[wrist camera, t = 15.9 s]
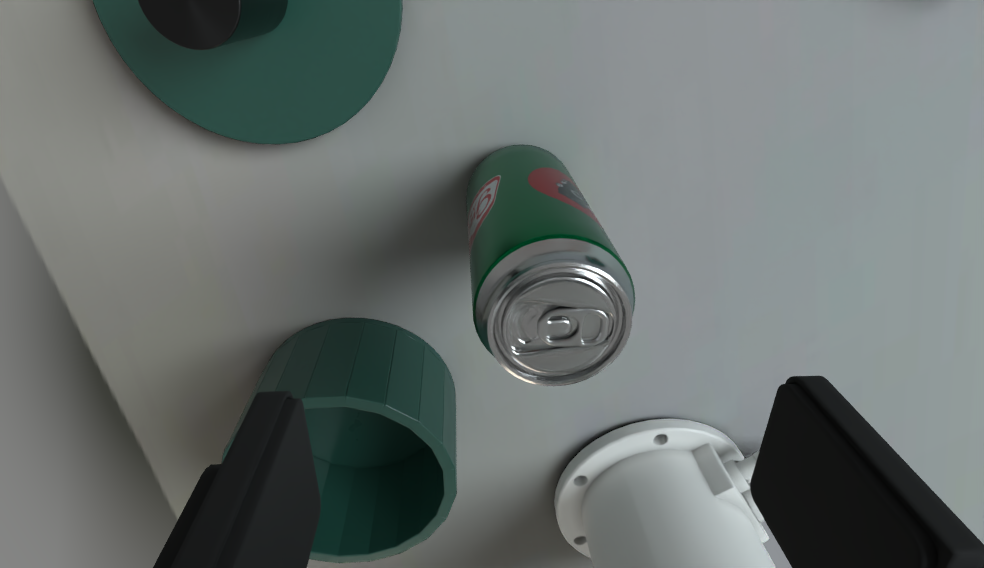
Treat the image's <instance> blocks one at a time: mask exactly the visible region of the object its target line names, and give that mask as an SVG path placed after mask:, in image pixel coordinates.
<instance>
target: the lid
mask: <svg viewBox="0 0 984 568" xmlns="http://www.w3.org/2000/svg"><path fill="white" fill-rule="evenodd" d="M93 3H94V5H95V8H96V11H97V13H98V16H99V18H100V21H101V23H102V25H103V27H104V29H105V30H106V32H107V34H108V36H109V38H110V40H111V42H112V43H113V45H114V47H115V48H116V50H117V51H118V53H119V54H120V56H121V57H122V59H123V60H124V62H125V63H126V64H127V65H128V67H129V68H130V69H131V70H132V72H133V73H134V74H135V75H136V77H137V78H138V79H139V80H140V81H141V82H142V83H143V84H144V85H145V86H146V87H147V88H148V89H149V90H150V91H151V92H152V93H153V94H154V95H155V96H156V97H158V98H159V99H160V100H161V101H162V102H164V103H165V104H166V105H167V106H168V107H170V108H171V109H173V110H174V111H176V112H177V113H179V114H180V115H182V116H183V117H185V118H186V119H188V120H190V121H191V122H193V123H195V124H197V125H199V126H201V127H203V128H205V129H207V130H209V131H212V132H214V133H217V134H219V135H222V136H225V137H229V138H232V139H236V140H240V141H244V142H251V143H258V144H287V143H296V142H301V141H305V140H309V139H313V138H316V137H318V136H321V135H323V134H325V133H328V132H330V131H332V130H334V129H335V128H337V127H339V126H341V125H342V124H344V123H345V122H347V121H348V120H349V119H350V118H352V117H353V116H354V115H356V114H357V113H358V112H359V111H360V110H361V109H362V108H363V107H364V106H365V105H366V104H367V103H368V101H369V100H370V99H371V98H372V96H373V95H374V94H375V92H376V91H377V89H378V88H379V86H380V85H381V84H382V82H383V80H384V78H385V76H386V74H387V72H388V70H389V68H390V66H391V63H392V61H393V58H394V55H395V52H396V49H397V45H398V40H399V36H400V31H401V22H402V10H403V5H402V0H93Z"/></svg>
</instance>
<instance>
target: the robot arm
mask: <svg viewBox="0 0 984 568" xmlns="http://www.w3.org/2000/svg"><path fill="white" fill-rule="evenodd" d="M554 504H555V511H556V517H557V521H558V525H559V528H560V531H561V533H562V534H563V536H564V537H565V539H566V540H567V542H568V543H569V544H570V545H571V546H573V547H574V548H575V549H576V550H577V551H578V552H580V553H582V554H583V555H585V556H587V557H588V558H591V560H592V564H593V568H776V567H775V565H774V563H773V561H772V560H771V558H770V556H769V554H768V552H767V551H766V549H765V547H764V545H763V543H764V542H766V541H768V540H769V537H768V535H767V533H766V532H765V530H764V528H763V526H762V525H761V522H763V521H764V520H765V521H766V523H767V525H768V527H769V528H770V530H771V532H772V533H773V535H774V537H775V539H776V540H777V542H778V544H779V545H780V547H781V549H782V551H783V552H784V554H785V556H786V558H787V559H788V561H789V563H790V564H791V566H792V568H984V544H983V543H982V542H981V541H980V540H979V539H978V538H977V537H976V536H975V535H974V534H973V533H972V532H971V531H970V530H969V529H968V528H967V527H966V525H965V524H964V523H963V522H962V521H961V520H960V519H959V518H958V517H957V516H956V515H955V514H954V513H953V512H952V511H951V510H950V509H949V508H948V507H947V505H946V504H945V503H944V502H943V501H942V500H941V499H940V498H939V497H938V496H937V495H936V494H935V493H934V492H933V491H932V490H931V489H930V488H929V486H928V485H927V484H926V483H925V482H924V481H923V480H922V479H921V478H920V477H919V476H918V475H917V474H916V473H915V472H914V471H913V470H912V469H911V468H910V466H909V465H908V464H907V463H906V462H905V461H904V460H903V459H902V458H901V457H900V456H899V455H898V454H897V453H896V452H895V451H894V450H893V449H892V447H891V446H890V445H889V444H888V443H887V442H886V441H885V440H884V439H883V438H882V437H881V436H880V435H879V434H878V433H877V432H876V431H875V430H874V429H873V427H872V426H871V425H870V424H869V423H868V422H867V421H866V420H865V419H864V418H863V417H862V416H861V415H860V414H859V413H858V412H857V411H856V410H855V408H854V407H853V406H852V405H851V404H850V403H849V402H848V401H847V400H846V399H845V398H844V397H843V396H842V395H841V394H840V393H839V392H838V391H837V390H836V388H835V387H834V386H833V385H832V384H831V383H830V382H829V381H828V380H827V379H825V378H824V377H822V376H794V377H790V378H789V379H788V380H787V381H786V383H785V384H782V385H781V386H779V388H778V390H777V394H776V397H775V400H774V404H773V407H772V410H771V414H770V417H769V421H768V424H767V427H766V431H765V434H764V437H763V441H762V444H761V448H760V450H759V451H757V452H755V453H753V455H752V456H750V457H748V458H746V459H745V458H744V456H743V455H742V453H741V451H740V450H739V449H738V447H737V446H736V445H735V443H734V442H733V441H732V440H731V439H730V438H728V437H727V436H726V435H725V434H724V433H722V432H721V431H719V430H717V429H715V428H713V427H711V426H709V425H706V424H702V423H699V422H695V421H691V420H683V419H672V418H670V419H654V420H647V421H643V422H638V423H633V424H630V425H627V426H624V427H621V428H619V429H616V430H613V431H611V432H609V433H607V434H605V435H603V436H602V437H600V438H598V439H596V440H595V441H593V442H592V443H591V444H589V445H588V446H586V447H585V448H584V449H582V450H581V451H580V452H579V453H578V454H577V455H576V456H575V457H574V458H573V459H572V460H571V462H570V463H569V464H568V465H567V467H566V469H565V470H564V472H563V473H562V475H561V476H560V479H559V482H558V485H557V487H556V491H555V500H554ZM320 511H321V499H320V493H319V487H318V482H317V476H316V471H315V466H314V460H313V455H312V449H311V444H310V439H309V433H308V428H307V422H306V417H305V411H304V406H303V402H302V400H301V399H300V398H293V395H292V393H291V392H290V391H269V392H259V393H257V395H256V396H255V398H254V400H253V402H252V404H251V406H250V408H249V410H248V412H247V414H246V416H245V418H244V420H243V422H242V424H241V426H240V428H239V430H238V432H237V434H236V436H235V438H234V440H233V442H232V444H231V446H230V448H229V450H228V452H227V454H226V456H225V458H224V460H223V463H222V464H219V465H210V466H209V467H207V468H206V469H205V471H204V472H203V474H202V475H201V477H200V479H199V481H198V483H197V485H196V487H195V489H194V491H193V492H192V494H191V496H190V498H189V500H188V502H187V504H186V506H185V508H184V510H183V512H182V513H181V515H180V517H179V519H178V521H177V523H176V525H175V527H174V529H173V531H172V532H171V534H170V536H169V538H168V540H167V542H166V544H165V546H164V548H163V550H162V552H161V553H160V555H159V557H158V559H157V561H156V563H155V565H154V567H153V568H307V564H308V560H309V556H310V552H311V549H312V545H313V541H314V537H315V533H316V529H317V525H318V522H319V517H320Z"/></svg>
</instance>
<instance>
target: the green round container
mask: <svg viewBox="0 0 984 568" xmlns="http://www.w3.org/2000/svg"><path fill="white" fill-rule="evenodd" d="M269 391H290V392H291V393H292V395H293V398H300V399H301V400H302V402H303V406H304V411H305V417H306V422H307V428H308V433H309V439H310V444H311V449H312V455H313V460H314V466H315V471H316V476H317V482H318V487H319V493H320V499H321V511H320V517H319V522H318V525H317V529H316V533H315V537H314V541H313V545H312V549H311V552H310V556H309V559H312V560H318V561H325V562H332V563H337V562H338V563H352V562H370V561H375V560H378V559H382V558H386V557H389V556H393V555H397V554H400V553H402V552H404V551H406V550H408V549H410V548H412V547H413V546H415V545H417V544H419V543H420V542H422V541H424V540H426V539H427V538H429V537H430V536H431V534H432V533H433V532H434V531H435V530H436V529H437V528H438V527H439V526H440V525H441V524H442V523H443V522H444V521H445V520H446V518H447V517H448V514H449V512H450V509H451V507H452V504H453V502H454V499H455V497H456V494H457V477H456V398H455V387H454V382H453V379H452V376H451V373H450V372H449V370H448V368H447V366H446V364H445V363H444V361H443V360H442V358H441V357H440V355H439V354H438V353H437V352H436V351H435V350H434V349H433V348H432V347H431V346H430V345H429V344H427V343H426V342H425V341H424V340H422V339H421V338H419V337H418V336H416V335H415V334H413V333H411V332H409V331H407V330H405V329H403V328H401V327H399V326H396V325H393V324H390V323H387V322H382V321H378V320H373V319H364V318H343V319H334V320H329V321H325V322H321V323H318V324H315V325H312V326H309V327H307V328H305V329H303V330H301V331H299V332H297V333H296V334H294V335H293V336H292V337H290V338H289V339H287V340H286V341H285V342H284V343H283V344H282V345H281V346H280V347H279V348H278V349H277V350H276V352H275V353H274V354H273V356H272V357H271V359H270V361H269V363H268V365H267V366H266V368H265V369H264V371H263V372H262V374H261V376H260V379H259V381H258V383H257V385H256V387H255V389H254V391H253V393H252V395H251V397H250V399H249V401H248V403H247V405H246V407H245V409H244V411H243V413H242V415H241V417H240V420H239V422H238V424H237V426H236V428H235V430H234V432H233V434H232V436H231V438H230V440H229V442H228V444H227V446H226V448H225V450H224V453H223V458H222V463H223V460H224V458H225V456H226V454H227V452H228V450H229V448H230V446H231V444H232V442H233V440H234V438H235V436H236V434H237V432H238V430H239V428H240V426H241V424H242V422H243V420H244V418H245V416H246V414H247V412H248V410H249V408H250V406H251V404H252V402H253V400H254V398H255V396H256V395H257V393H259V392H269Z"/></svg>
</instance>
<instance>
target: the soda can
mask: <svg viewBox="0 0 984 568" xmlns="http://www.w3.org/2000/svg"><path fill="white" fill-rule="evenodd" d="M466 204H467V221H468V238H469V255H470V272H471V289H472V306H473V320H474V324H475V328H476V332H477V334H478V336H479V338H480V340H481V342H482V343H483V344H484V346H485V347H486V349H487V350H488V351H489V352H490V353H491V354H492V355H493V356H494V357H495V358H496V359H497V360H498V362H499V363H500V364H501V365H502V366H503V367H504V368H505V369H506V370H507V371H508V372H510V373H511V374H512V375H514V376H515V377H517V378H519V379H521V380H524V381H526V382H530V383H533V384H537V385H543V386H562V385H569V384H574V383H577V382H580V381H583V380H586V379H588V378H590V377H592V376H594V375H596V374H598V373H599V372H601V371H602V370H604V369H605V368H606V367H608V366H609V365H610V364H611V363H612V362H613V361H614V360H615V359H616V358H617V357H618V355H619V354H620V353H621V351H622V350H623V348H624V347H625V345H626V342H627V340H628V338H629V335H630V331H631V327H632V316H633V312H634V305H635V292H634V285H633V282H632V279H631V276H630V274H629V272H628V270H627V268H626V266H625V264H624V263H623V261H622V259H621V258H620V256H619V254H618V253H617V251H616V249H615V248H614V246H613V245H612V243H611V241H610V240H609V238H608V236H607V235H606V233H605V231H604V230H603V228H602V226H601V225H600V223H599V221H598V220H597V218H596V216H595V215H594V213H593V212H592V210H591V208H590V207H589V205H588V203H587V202H586V200H585V198H584V197H583V195H582V193H581V192H580V190H579V188H578V187H577V185H576V183H575V182H574V180H573V179H572V177H571V175H570V174H569V172H568V170H567V169H566V167H565V166H564V165H563V163H562V162H561V161H560V160H559V159H558V158H557V157H556V156H555V155H553V154H552V153H550V152H549V151H547V150H544V149H542V148H540V147H536V146H532V145H513V146H509V147H505V148H502V149H500V150H497V151H495V152H494V153H492V154H490V155H489V156H488V157H486V158H485V159H484V160H483V161H482V162H481V163H480V164H479V165H478V166H477V168H476V169H475V171H474V172H473V174H472V176H471V178H470V181H469V184H468V188H467V195H466Z"/></svg>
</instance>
